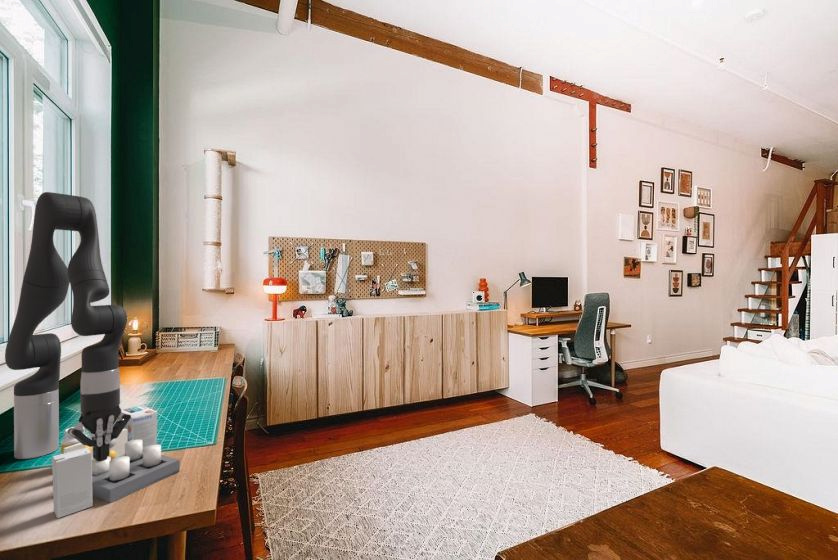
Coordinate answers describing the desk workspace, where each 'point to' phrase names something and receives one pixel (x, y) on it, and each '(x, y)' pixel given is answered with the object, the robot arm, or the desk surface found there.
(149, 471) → the button board
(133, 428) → the light bulb box
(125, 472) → the button
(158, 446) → the button
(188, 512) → the desk surface
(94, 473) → the button
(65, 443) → the supplement bottle
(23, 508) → the desk surface
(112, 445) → the plaque
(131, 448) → the button
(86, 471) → the skincare box
